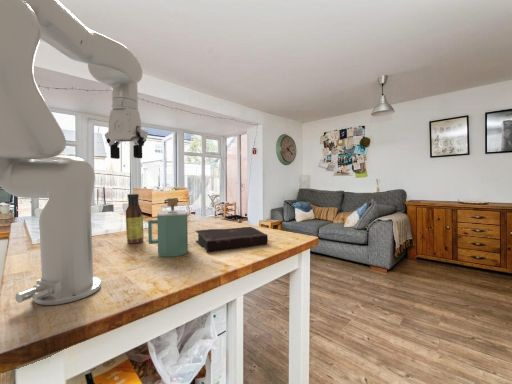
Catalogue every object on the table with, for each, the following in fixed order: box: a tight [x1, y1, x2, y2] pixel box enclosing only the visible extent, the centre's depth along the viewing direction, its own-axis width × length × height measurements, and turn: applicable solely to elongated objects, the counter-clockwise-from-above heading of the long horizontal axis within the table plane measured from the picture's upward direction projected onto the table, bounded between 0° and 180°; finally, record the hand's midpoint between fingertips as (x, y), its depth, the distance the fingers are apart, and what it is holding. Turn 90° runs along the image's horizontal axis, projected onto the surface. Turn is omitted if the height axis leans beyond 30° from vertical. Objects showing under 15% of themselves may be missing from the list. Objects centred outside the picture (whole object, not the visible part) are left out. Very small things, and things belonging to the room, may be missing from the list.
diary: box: [195, 226, 269, 253], centre depth 102 cm, size 19×25×5 cm
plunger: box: [166, 197, 178, 213], centre depth 88 cm, size 7×7×15 cm
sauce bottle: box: [125, 193, 144, 244], centre depth 102 cm, size 6×6×20 cm
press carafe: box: [147, 209, 189, 258], centre depth 88 cm, size 10×13×14 cm
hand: (126, 158), depth 84 cm, fingers open, 9 cm apart
